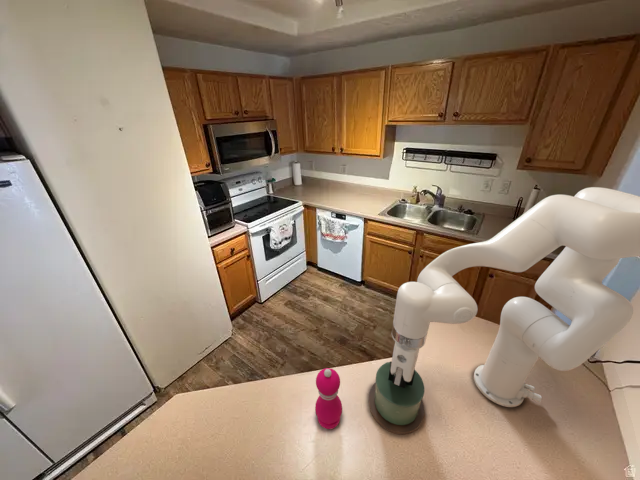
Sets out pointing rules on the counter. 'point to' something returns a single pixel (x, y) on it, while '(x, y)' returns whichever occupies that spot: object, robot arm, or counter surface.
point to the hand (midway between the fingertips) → (399, 380)
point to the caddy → (397, 396)
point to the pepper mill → (328, 398)
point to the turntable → (390, 426)
